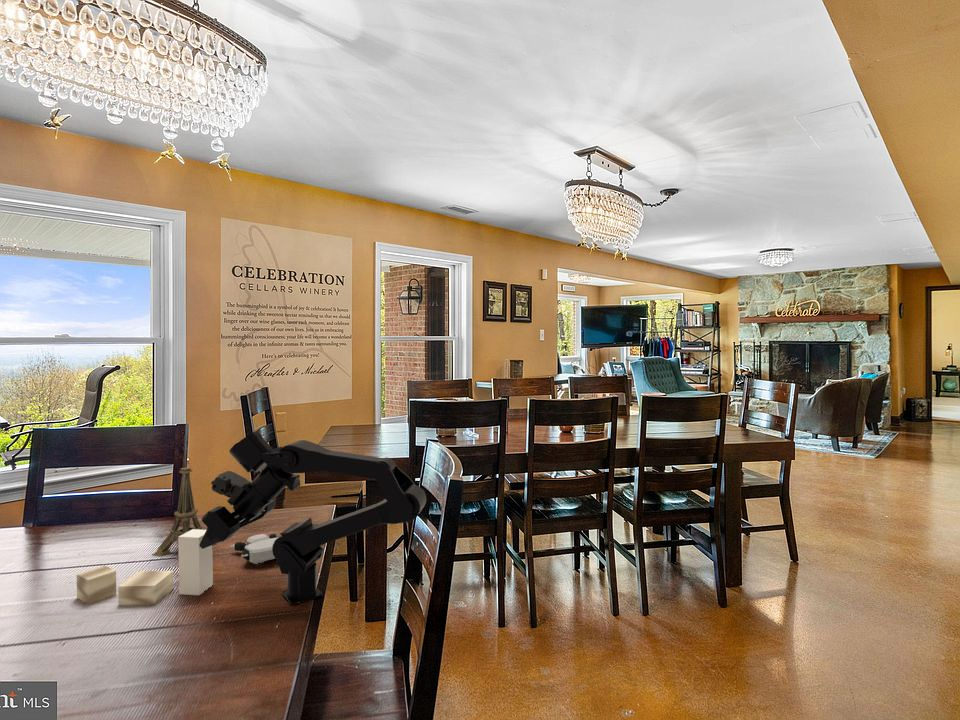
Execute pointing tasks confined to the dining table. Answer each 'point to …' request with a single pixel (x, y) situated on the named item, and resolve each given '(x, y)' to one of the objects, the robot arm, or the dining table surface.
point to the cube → (96, 584)
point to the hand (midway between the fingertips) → (215, 538)
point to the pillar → (194, 563)
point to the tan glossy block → (145, 588)
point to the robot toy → (257, 548)
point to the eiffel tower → (182, 514)
